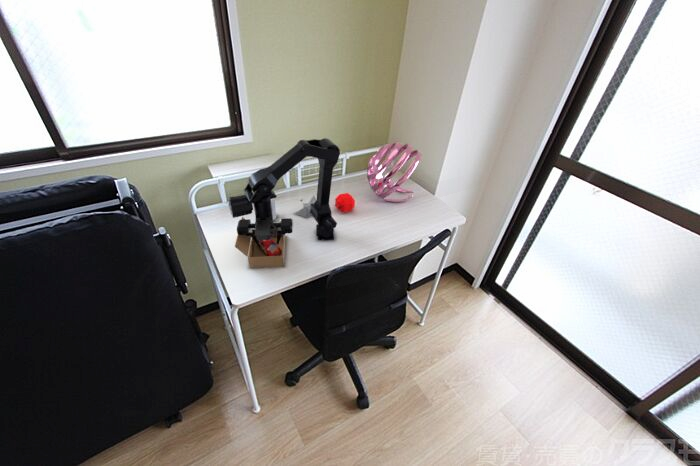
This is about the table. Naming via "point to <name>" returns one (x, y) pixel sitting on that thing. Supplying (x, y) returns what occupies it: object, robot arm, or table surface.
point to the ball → (345, 202)
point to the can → (273, 208)
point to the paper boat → (306, 208)
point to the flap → (243, 242)
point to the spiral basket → (386, 180)
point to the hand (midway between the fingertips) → (268, 244)
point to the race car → (270, 247)
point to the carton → (261, 259)
